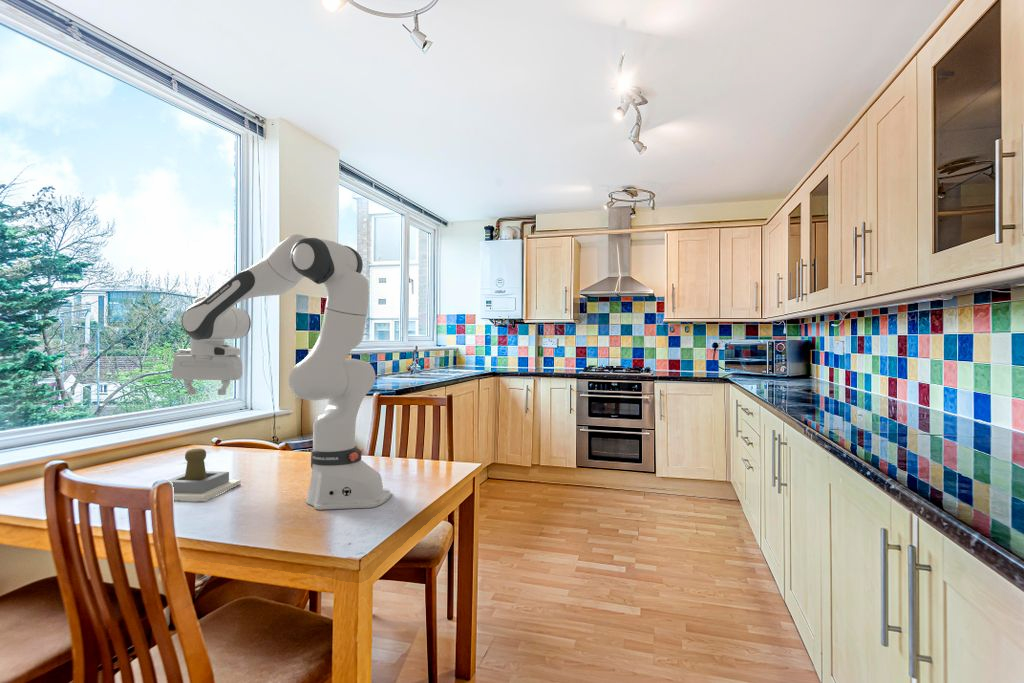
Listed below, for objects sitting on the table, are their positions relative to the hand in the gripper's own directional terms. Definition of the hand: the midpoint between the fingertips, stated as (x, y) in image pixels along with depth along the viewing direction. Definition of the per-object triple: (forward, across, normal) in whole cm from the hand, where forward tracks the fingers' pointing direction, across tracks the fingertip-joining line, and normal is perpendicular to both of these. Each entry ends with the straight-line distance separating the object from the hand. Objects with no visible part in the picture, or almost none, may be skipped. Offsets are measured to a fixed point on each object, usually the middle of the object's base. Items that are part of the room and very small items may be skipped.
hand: (206, 394), depth 148 cm
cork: (+26, +2, -7) cm, 27 cm away
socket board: (+28, +2, -7) cm, 29 cm away
